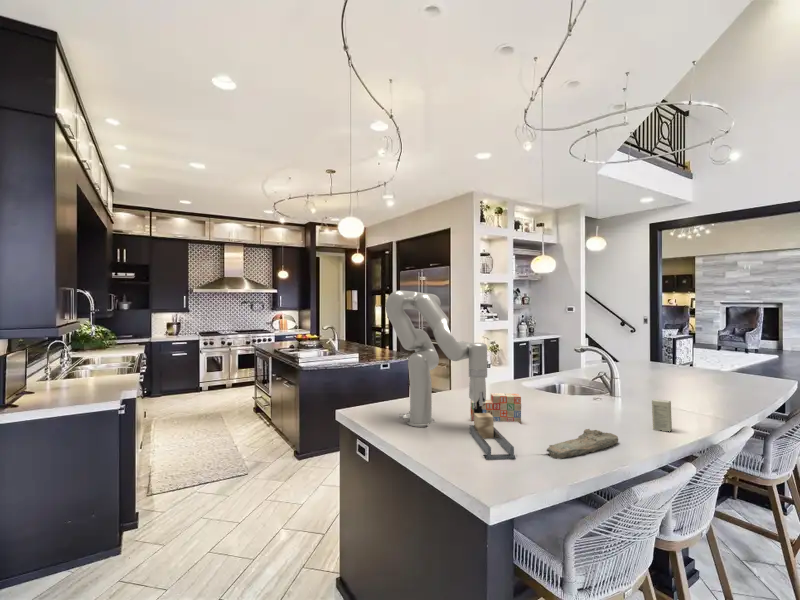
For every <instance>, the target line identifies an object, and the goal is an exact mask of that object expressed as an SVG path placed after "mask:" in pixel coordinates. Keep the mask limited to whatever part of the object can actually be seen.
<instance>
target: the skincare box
mask: <svg viewBox="0 0 800 600" xmlns="http://www.w3.org/2000/svg"><path fill="white" fill-rule="evenodd" d="M651 406H652V407H651V409H652V411H651V413H652V415H651V416H652V430H653V429H657V430H656V431H659V430H662V431H661V432H665V431H669V432H668V433H670V431H671V430H672V431H673V423H672V420H673V419H672V401H671V400H667V399H656V398H654V399H651ZM672 431H671V432H672Z"/></svg>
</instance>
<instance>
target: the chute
mask: <svg viewBox="0 0 800 600" xmlns="http://www.w3.org/2000/svg"><path fill="white" fill-rule="evenodd" d="M469 434H470V435H471V437H472V438H473V439H474V440H475V442H476V443H477V445H478V446H479V447H480V449H482V451H483V452H484V454H482V456H483V458H485V460H486V461H487V460H488V461H489V460H492V461H493V460H494V461H495V460H516V455H515V447H514V446H513V444H511V442H510V441H509V440H508V439H507V438H506V437H505V436H503V434H502V433H501V432H500V431H499V430H498V429H497V428H496V427H495V426H494V438H493V439H495V441H496V442H497V443H498V444H499V445H500V447H502V449H504V451H506V453H505V454H504V453H503V454H499V453H497V454H492V447H491V445H490V444H489V443H488V442H487V440H486V439H485V438H483V437H482V436H481V435H480V433H479V432H478V431H477V430H476V429H475V427H474V424H471V425H469Z"/></svg>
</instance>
